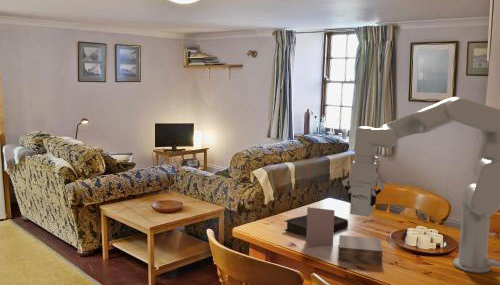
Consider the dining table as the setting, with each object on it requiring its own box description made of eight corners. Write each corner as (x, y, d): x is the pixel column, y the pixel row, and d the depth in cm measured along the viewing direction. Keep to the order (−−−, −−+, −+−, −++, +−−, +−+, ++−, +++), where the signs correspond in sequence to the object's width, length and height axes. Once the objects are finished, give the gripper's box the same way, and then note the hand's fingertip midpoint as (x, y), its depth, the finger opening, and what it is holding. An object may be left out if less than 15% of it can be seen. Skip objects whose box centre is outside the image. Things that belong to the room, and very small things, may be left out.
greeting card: (333, 244, 200) (334, 209, 197) (330, 250, 193) (331, 214, 191) (306, 240, 203) (307, 206, 201) (302, 246, 197) (303, 211, 194)
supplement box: (349, 214, 183) (351, 182, 181) (354, 209, 189) (356, 178, 188) (368, 217, 180) (370, 184, 178) (373, 212, 186) (375, 181, 184)
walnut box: (379, 252, 192) (380, 238, 191) (381, 266, 178) (382, 251, 178) (338, 248, 195) (338, 234, 195) (337, 262, 182) (338, 247, 181)
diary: (348, 229, 221) (349, 219, 221) (314, 242, 204) (315, 231, 203) (316, 219, 235) (316, 209, 234) (282, 230, 217) (282, 220, 216)
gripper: (389, 159, 181) (386, 204, 184) (344, 155, 188) (342, 198, 191) (386, 162, 174) (383, 209, 177) (339, 158, 182) (337, 203, 184)
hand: (362, 203), depth 184 cm, fingers closed on supplement box, 7 cm apart
